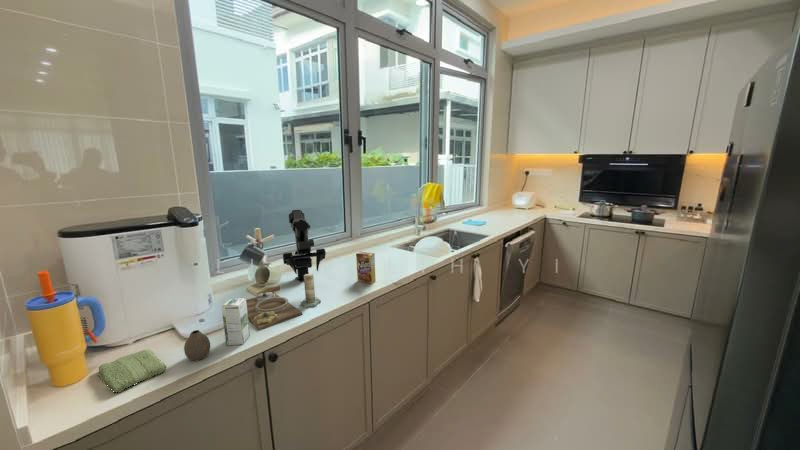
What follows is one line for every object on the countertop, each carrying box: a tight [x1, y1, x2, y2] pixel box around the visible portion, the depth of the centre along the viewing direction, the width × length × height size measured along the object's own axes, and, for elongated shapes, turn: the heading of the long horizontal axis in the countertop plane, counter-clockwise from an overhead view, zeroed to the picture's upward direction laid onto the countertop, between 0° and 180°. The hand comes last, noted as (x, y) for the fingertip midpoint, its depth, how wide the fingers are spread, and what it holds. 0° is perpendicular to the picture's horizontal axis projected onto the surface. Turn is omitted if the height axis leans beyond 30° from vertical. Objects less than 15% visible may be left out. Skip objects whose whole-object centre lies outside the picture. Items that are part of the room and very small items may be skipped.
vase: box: [183, 329, 211, 362], centre depth 97 cm, size 7×7×9 cm
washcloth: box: [96, 348, 168, 393], centre depth 91 cm, size 13×18×3 cm
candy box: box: [355, 250, 376, 284], centre depth 157 cm, size 9×4×15 cm, turn 64°
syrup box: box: [221, 297, 250, 346], centre depth 105 cm, size 6×6×14 cm
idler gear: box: [300, 273, 322, 308], centre depth 133 cm, size 8×8×13 cm
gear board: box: [246, 291, 303, 331], centre depth 129 cm, size 30×17×3 cm, turn 44°
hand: (307, 272), depth 138 cm, fingers open, 9 cm apart
